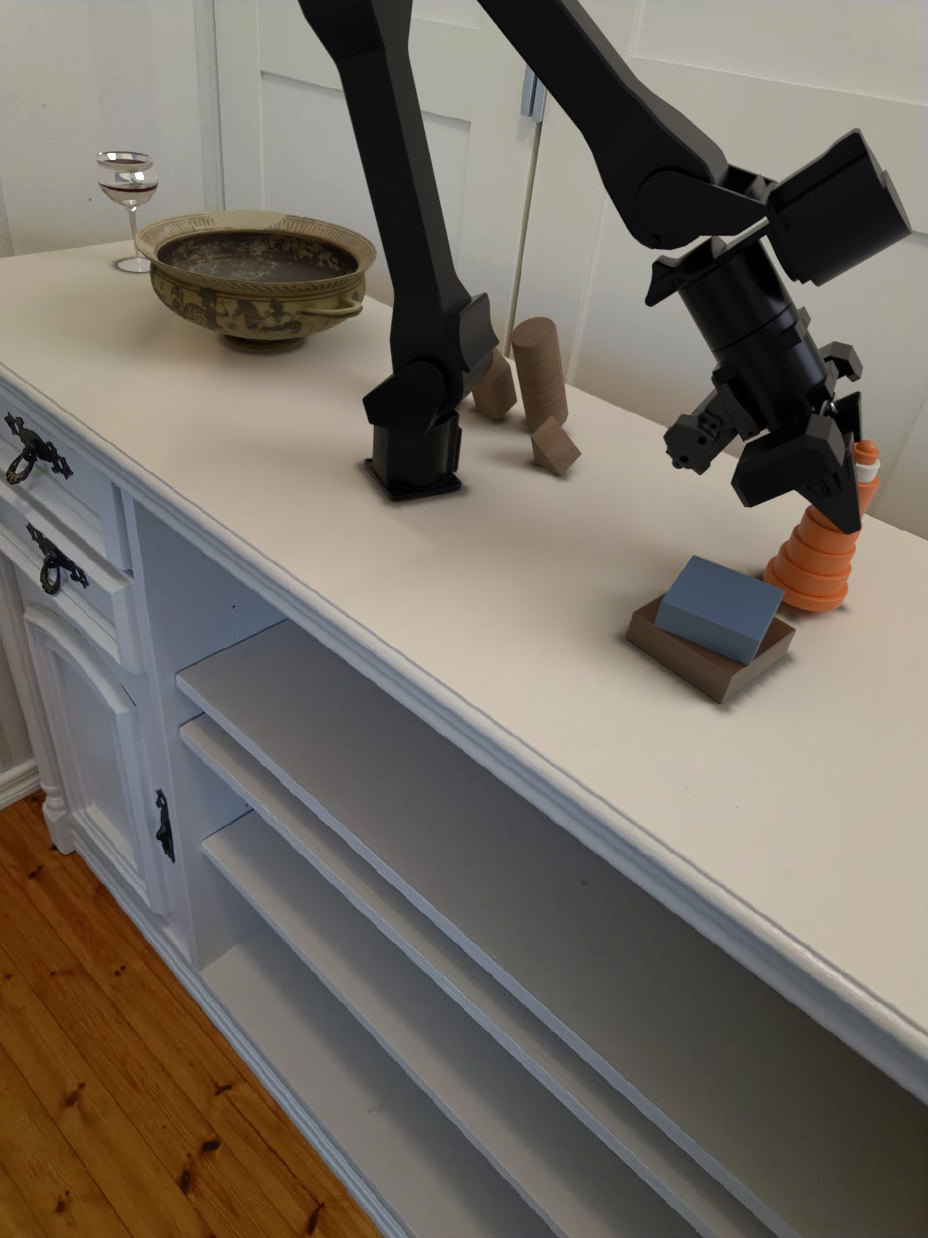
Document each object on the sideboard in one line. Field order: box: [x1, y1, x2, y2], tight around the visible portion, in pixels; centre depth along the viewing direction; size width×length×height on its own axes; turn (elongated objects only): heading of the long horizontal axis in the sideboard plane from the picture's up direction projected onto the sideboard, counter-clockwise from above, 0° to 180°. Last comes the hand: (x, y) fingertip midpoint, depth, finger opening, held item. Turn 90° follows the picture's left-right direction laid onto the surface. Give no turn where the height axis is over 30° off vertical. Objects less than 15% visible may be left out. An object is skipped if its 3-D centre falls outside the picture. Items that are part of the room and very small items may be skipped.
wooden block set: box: [471, 316, 582, 476], centre depth 78 cm, size 18×9×10 cm, turn 47°
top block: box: [654, 554, 785, 666], centre depth 57 cm, size 7×7×2 cm
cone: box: [762, 439, 881, 613], centre depth 60 cm, size 6×6×12 cm
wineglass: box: [93, 150, 159, 273], centre depth 102 cm, size 7×7×12 cm
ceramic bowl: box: [135, 209, 378, 352], centre depth 89 cm, size 30×24×10 cm
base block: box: [625, 591, 797, 704], centre depth 58 cm, size 8×8×2 cm
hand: (856, 519), depth 60 cm, fingers closed on cone, 3 cm apart
